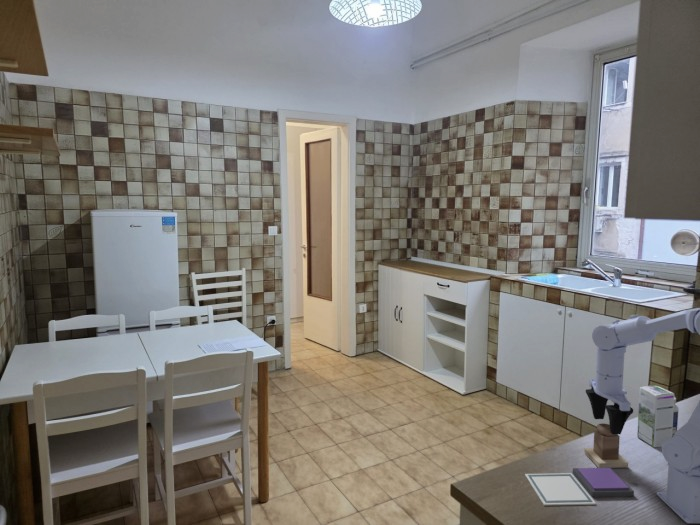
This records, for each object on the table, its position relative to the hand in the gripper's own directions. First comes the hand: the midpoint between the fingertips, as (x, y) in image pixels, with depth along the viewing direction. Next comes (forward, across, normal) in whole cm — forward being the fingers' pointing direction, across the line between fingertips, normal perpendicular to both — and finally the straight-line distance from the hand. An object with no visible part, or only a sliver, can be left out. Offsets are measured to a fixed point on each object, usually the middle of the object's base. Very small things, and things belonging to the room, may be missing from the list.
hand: (606, 425), depth 112 cm
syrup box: (+9, +8, -18) cm, 22 cm away
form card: (+9, -11, +16) cm, 22 cm away
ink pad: (+9, -10, +6) cm, 14 cm away
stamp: (+9, 0, 0) cm, 9 cm away
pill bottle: (+9, +14, -24) cm, 30 cm away
